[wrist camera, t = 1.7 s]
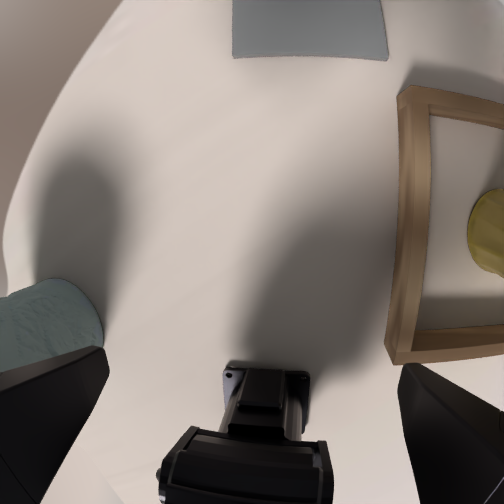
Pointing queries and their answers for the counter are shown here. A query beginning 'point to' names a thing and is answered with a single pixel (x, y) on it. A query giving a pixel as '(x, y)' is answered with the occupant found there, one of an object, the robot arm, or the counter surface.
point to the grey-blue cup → (46, 323)
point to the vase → (488, 232)
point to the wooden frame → (416, 232)
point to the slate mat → (308, 29)
